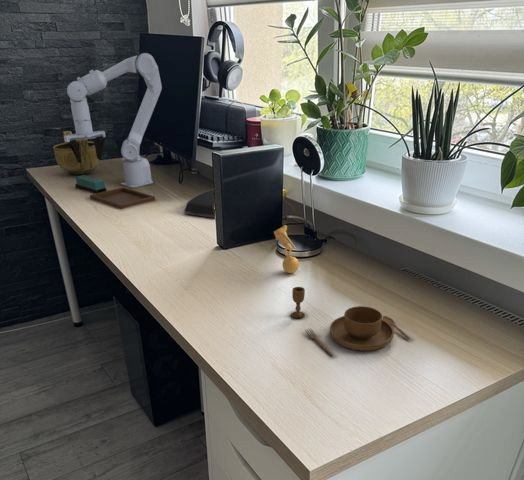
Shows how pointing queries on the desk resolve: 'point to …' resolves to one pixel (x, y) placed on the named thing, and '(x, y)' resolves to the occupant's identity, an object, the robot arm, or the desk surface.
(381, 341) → the place setting
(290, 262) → the figurine
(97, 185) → the teal long block
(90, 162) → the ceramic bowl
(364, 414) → the desk surface
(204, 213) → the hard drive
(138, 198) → the tray
